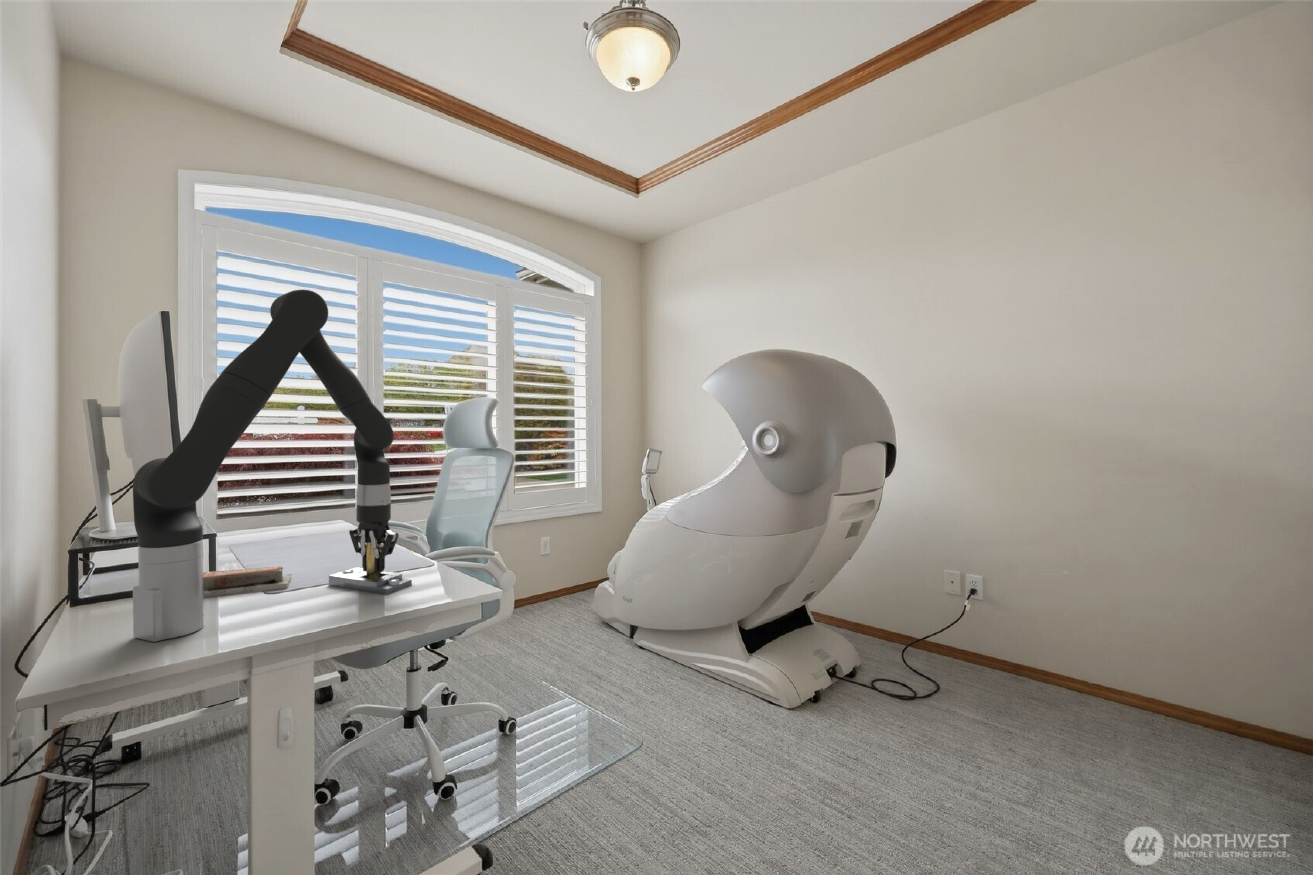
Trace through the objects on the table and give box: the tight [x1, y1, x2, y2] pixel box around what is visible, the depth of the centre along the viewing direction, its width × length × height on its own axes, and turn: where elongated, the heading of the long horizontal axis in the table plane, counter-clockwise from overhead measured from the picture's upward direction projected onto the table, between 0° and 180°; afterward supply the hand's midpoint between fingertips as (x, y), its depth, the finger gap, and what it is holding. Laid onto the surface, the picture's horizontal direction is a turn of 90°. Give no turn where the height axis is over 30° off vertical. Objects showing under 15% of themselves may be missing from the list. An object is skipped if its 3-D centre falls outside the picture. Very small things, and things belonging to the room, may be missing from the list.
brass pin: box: [366, 542, 381, 579], centre depth 135 cm, size 3×3×10 cm
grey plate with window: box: [328, 566, 413, 595], centre depth 135 cm, size 8×18×3 cm, turn 71°
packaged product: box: [203, 565, 292, 598], centre depth 131 cm, size 18×5×10 cm
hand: (373, 571), depth 135 cm, fingers closed on brass pin, 3 cm apart
